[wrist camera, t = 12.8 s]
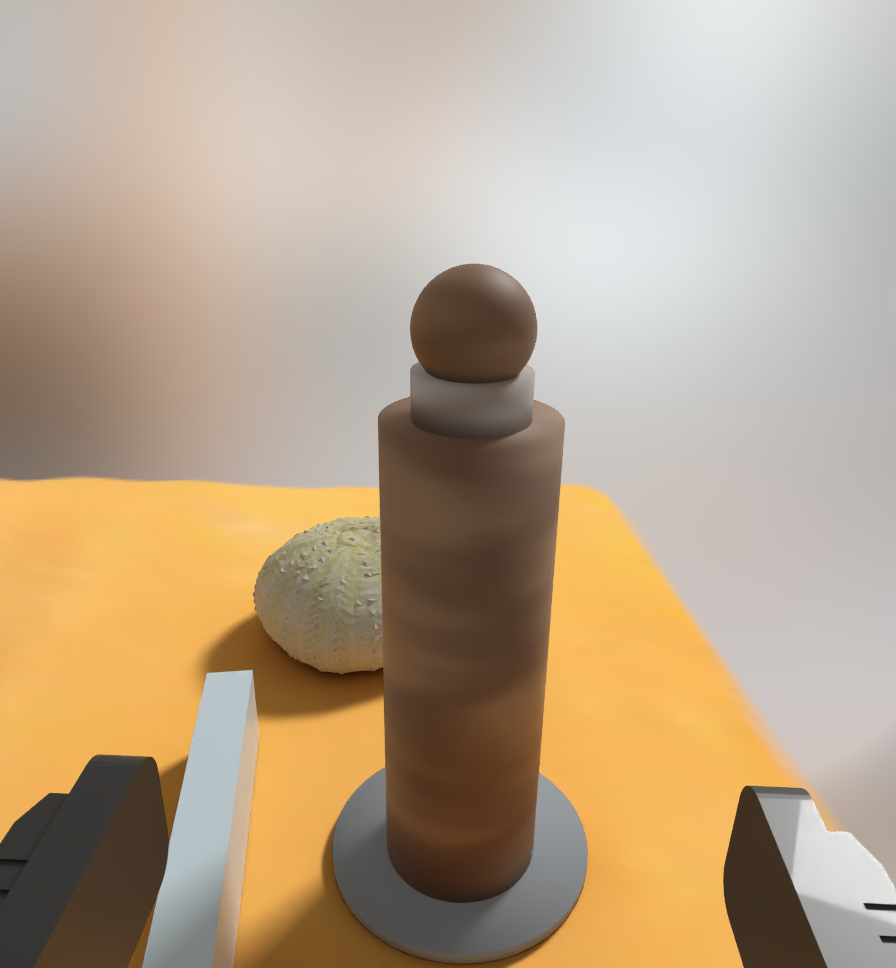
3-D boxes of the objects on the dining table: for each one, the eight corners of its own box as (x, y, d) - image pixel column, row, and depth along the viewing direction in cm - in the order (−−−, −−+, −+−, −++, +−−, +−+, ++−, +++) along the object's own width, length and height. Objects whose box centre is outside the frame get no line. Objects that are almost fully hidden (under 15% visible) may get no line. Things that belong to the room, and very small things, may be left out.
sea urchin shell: (500, 643, 33) (355, 524, 30) (366, 759, 35) (217, 657, 32) (470, 539, 42) (354, 438, 39) (363, 637, 43) (245, 547, 40)
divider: (152, 1081, 19) (135, 997, 18) (215, 739, 30) (206, 673, 29) (221, 1072, 20) (209, 988, 18) (259, 736, 31) (252, 670, 29)
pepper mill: (392, 911, 23) (381, 282, 16) (382, 792, 28) (369, 251, 20) (549, 894, 24) (603, 280, 17) (516, 780, 28) (548, 250, 21)
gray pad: (334, 980, 22) (333, 970, 22) (331, 767, 29) (331, 759, 29) (622, 946, 23) (623, 936, 23) (550, 749, 30) (551, 740, 30)
